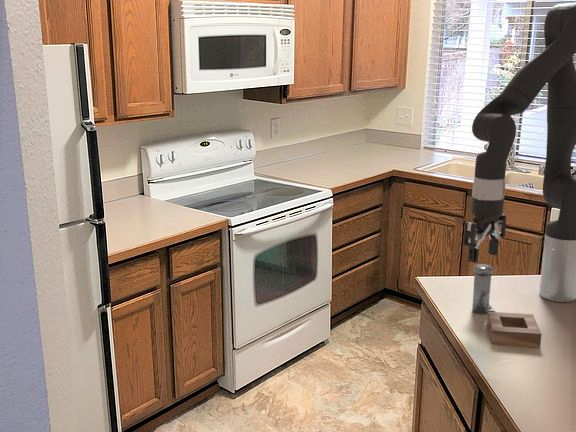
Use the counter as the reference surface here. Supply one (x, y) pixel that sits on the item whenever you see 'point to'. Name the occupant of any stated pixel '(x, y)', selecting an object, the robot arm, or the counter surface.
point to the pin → (481, 288)
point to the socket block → (513, 329)
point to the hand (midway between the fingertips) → (482, 258)
